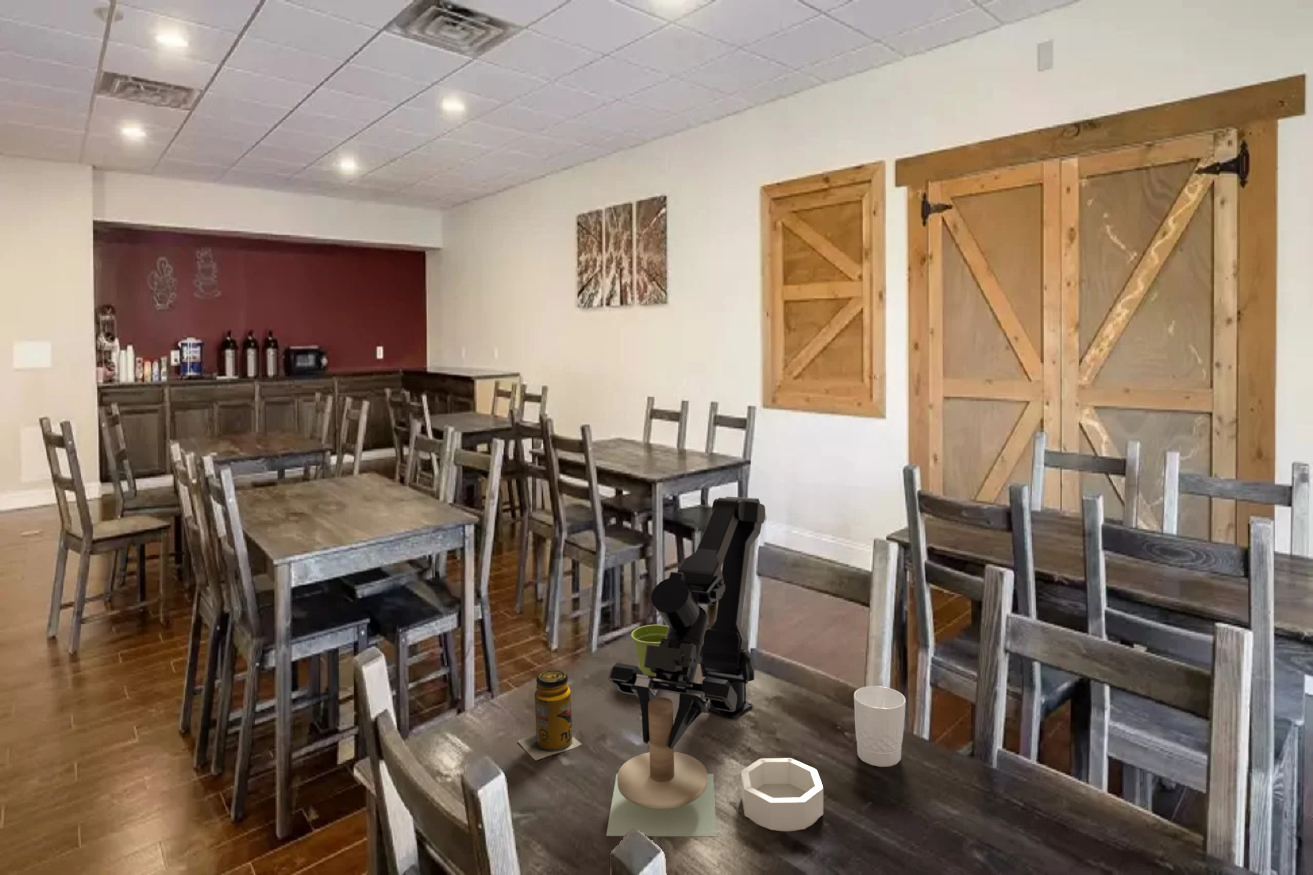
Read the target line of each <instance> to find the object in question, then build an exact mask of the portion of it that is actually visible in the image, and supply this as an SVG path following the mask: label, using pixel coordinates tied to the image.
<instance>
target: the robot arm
mask: <svg viewBox="0 0 1313 875" xmlns="http://www.w3.org/2000/svg"><path fill="white" fill-rule="evenodd" d="M711 506H712V508H711V514H710V516H709V518H708V521H707V524H706V526H705V528H704V531H703V533H702V536H701V538H700V541H699V542H698V546H697V548H696V550H695V552H694V553H692V554H691V555H689V556H687V557H685V558H684V559H683V560H682V561H681V564H680V566H679V567H678V569H677V571H670V574H669V576H668V578H666V579H663V580H662V581H660V582H659V583H658V584H657V585H656V586H655V587H654V588H653V589H652V591H651V594H650V597H651V598H650V599H651V603H652V606H653V607H654V609H655V611H656V612H657V613H658V615H659V616H660V618H661V620H662V621H663V622H664V624H665V625H666V626H669V627H668V631H667V634H666V638H665V639H662V641H661V642H660V646H659V647H658V646H652V645H647V648H646V655H645V662H644V667H646V668H650V670H651V672H652V673H655V674H656V676H649V675H644V674H643V673H642V671H641V670H640V667H639V666H638V665H632V664H626V663H621V662H616V663H615V664H614V665H613V666H612V667H611V668H610V670H609V674H608V677H607V680H608V681H609V682H610V683H611V684H612V685H613V687H615V689H617V691H618V692H621V693H623V694H626V695H627V694H628V695H634V696H635V697H637V698H638V699H639V700H638V701H639V704H640V711H641V726H642V727H641V728H642V729H641V730H642V741H643V743H644V744H646V745H649V715H648V702H649V701H650V700H651V699H654V698H657V696H656V695H657V692H659V691H660V692H666V693H670V694H677V695H679V699H678V709H677V712H676V715H675V718H674V720H673V727H672V731H671V734H670V738H669V744H668V747H669V748H670V749H673V748H674V749H675V746H676V745H677V744H678V742H679V741H680V739H681V738H682V736H683V735H684V734H685V732H686V731H687V730H688V729H689V727H690V726H691V725H692V724H693V723H694V721H696V719H697V718H699V717H700V715H701V714H707V713H709V712H708V711H711V712H713V713H715V714H718V715H720V716H723V717H724V718H727V719H734V718H736V717H737V716H739V715H742V714H743V713H745V712H747V711H749V710H750V709H752V708H753V705H754V704H753V703H752V702H749V701H747V685H748V683H749V682H750V681H754V680H755V670H756V668H755V660H754V659H753V658H754V657H753V656H752V654H751V652H750V651H749V648H748V647H749V640H748V637H747V636H746V633H745V631H744V629H743V627H742V622H743V620H742V619H743V611H744V604H745V593H746V587H747V586H746V583H747V579H748V578H747V576H748V568H749V567H748V566H749V559H750V549H751V546H752V545H753V543H754V542H755V541H756V540H757V539H758V537H759V536H760V534H761V530H762V524H764V522H765V518H766V507H765V505H764V504H763V503H761V501H760V500H759V498H757V497H755V498H754V497H739V496H737V497H736V496H726V497H718V498H715V499H714V500H713V501H712V505H711ZM700 605H708V606H713V605H717V610H716V618H715V621H714V623H713V624H712V625H711V626H710V623H709V622H710V621H709V616H708V614H707V612H706V610H705V609H704V608H702V607H701V606H700ZM709 626H710V627H709ZM698 665H700V671H701V675H702V678H703V680H702V683H697V682H695V677H696V674H697V669H698Z"/></svg>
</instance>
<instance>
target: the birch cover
mask: <svg viewBox="0 0 1313 875" xmlns="http://www.w3.org/2000/svg"><path fill="white" fill-rule="evenodd" d="M673 704H674V703H673V701H672V699H671V698H668V697H662V696H661V697H656V698H654V699H651V700H650V701H649V702H648V715H649V742H648V746H649V752H645V753H641V754H638V755H636V756H634V757H631V758H630V759H628V760H626V762H624V763H623V764H622V765H621V767H620V768H619V769H618V772H617V774H618V775H617V781H618V789H619V791H620V793H621V794H622V796H624V797H625V798H626V799H627V800H629V801H630V802H632V803H634V804H637V805H639V806H643V807H647V808H654V809H668V808H675V807H680V806H683V805H686V804H688V803H691V802H693V801H694V800H696V799H697V798H699V797H700V796H701V795H702V794H703V793H704V791H705V789H706V787H707V774H708V772H707V771H708V770H707V769H706V767H705V766H704V764H703V763H702V762H701V761H700V760H698V758H695V757H693V756H692V755H688V753H687V754H686V753H683V752H679V751H675V747H674V748H673V749H670V748H669V747H668V744H669V738H670V734H671V731H672V727H673V724H674V706H673Z"/></svg>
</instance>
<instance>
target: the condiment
mask: <svg viewBox="0 0 1313 875" xmlns="http://www.w3.org/2000/svg"><path fill="white" fill-rule="evenodd" d="M535 681H536V687H535V688H536V690H535V692H534V709H535V710H534V712H535V713H534V714H535V731H536V732H535V734H533V735H532V736H529V737H524V738H522V739H518V740H517V742H518V743H519V745H521V747H522V748H523V749H524V750H525V751H526V753H527V754H529V756H531V757H532V759H534V760H535V761H538V760H541V759H544V758H547V757H550V756H553V755H556V754H560V753H563V752H566V751H568V750H569V751H570V750H571V749H572V750H573V749H574V748H577V747H579V746H581V745H582V743H581V742H580V741H579V740H577V739H576V738H575V737H574V736H573V717H572V716H573V715H572V714H573V713H572V694H571V693H572V692H571V691H572V690H571V689H570V687H569V676H568V674H567V673H566V671H565V670H562V669H561V670H560V669H549V670H544V671H542V672H540V673H538V675H537V676H536V679H535Z"/></svg>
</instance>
